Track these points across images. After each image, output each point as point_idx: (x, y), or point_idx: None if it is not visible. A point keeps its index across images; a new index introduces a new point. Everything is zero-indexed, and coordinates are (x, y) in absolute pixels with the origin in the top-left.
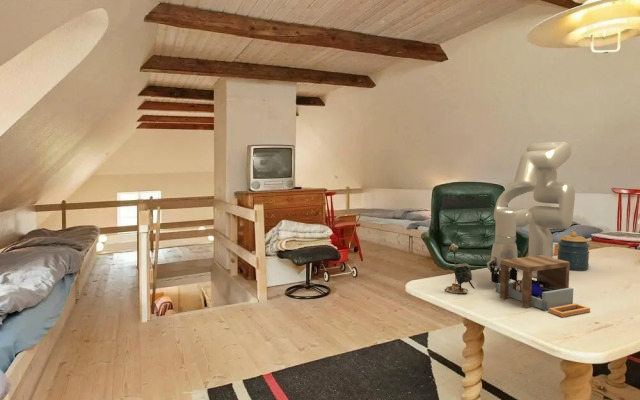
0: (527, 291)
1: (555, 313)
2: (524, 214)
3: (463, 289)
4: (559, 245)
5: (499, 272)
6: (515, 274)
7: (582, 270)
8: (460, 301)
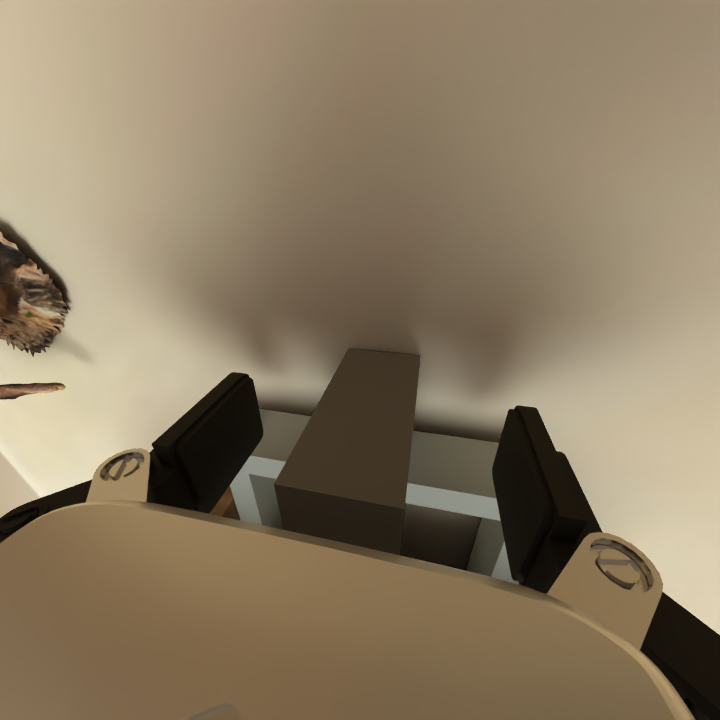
0: None
1: None
2: None
3: (20, 299)
4: None
5: (292, 467)
6: (505, 540)
7: None
8: (6, 407)
